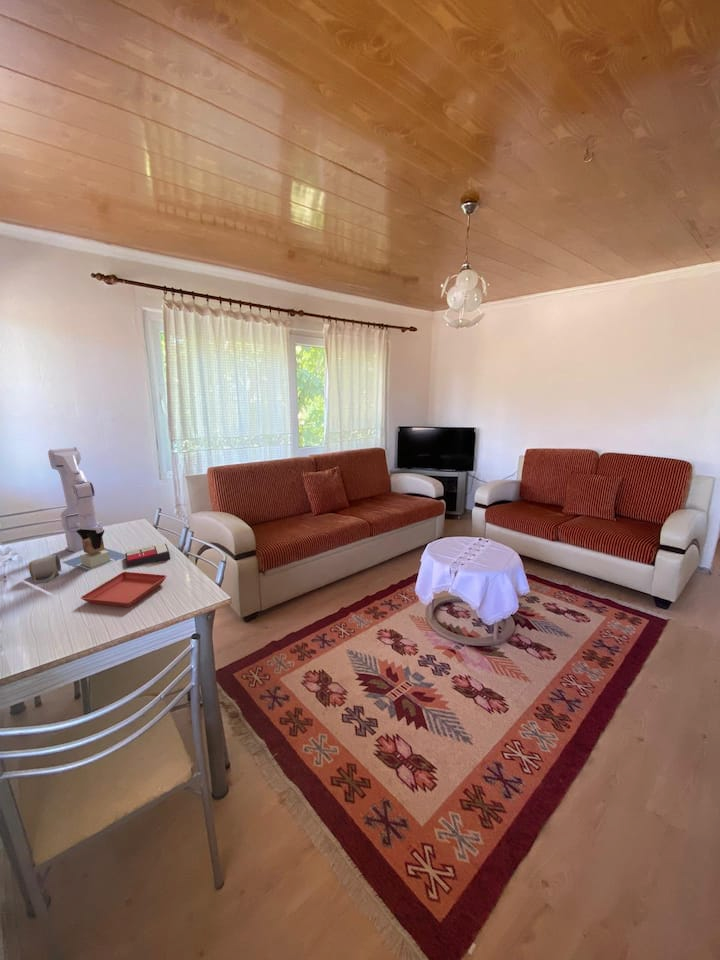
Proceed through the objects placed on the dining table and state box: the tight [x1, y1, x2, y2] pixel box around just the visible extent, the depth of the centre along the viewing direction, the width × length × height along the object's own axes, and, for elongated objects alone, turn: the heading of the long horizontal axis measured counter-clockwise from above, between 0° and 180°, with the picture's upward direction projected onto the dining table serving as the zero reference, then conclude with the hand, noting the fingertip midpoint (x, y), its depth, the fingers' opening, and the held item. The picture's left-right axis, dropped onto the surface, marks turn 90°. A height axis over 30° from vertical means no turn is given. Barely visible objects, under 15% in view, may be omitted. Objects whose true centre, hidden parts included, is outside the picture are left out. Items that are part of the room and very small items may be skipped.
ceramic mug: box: [28, 554, 62, 584], centre depth 140 cm, size 11×8×8 cm
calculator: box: [124, 542, 171, 568], centre depth 156 cm, size 11×4×15 cm
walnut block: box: [82, 537, 105, 554], centre depth 150 cm, size 5×5×5 cm
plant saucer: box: [80, 571, 167, 608], centre depth 129 cm, size 18×18×3 cm
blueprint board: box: [62, 547, 126, 572], centre depth 155 cm, size 18×16×1 cm
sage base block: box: [79, 550, 110, 568], centre depth 151 cm, size 7×7×4 cm
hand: (93, 547), depth 150 cm, fingers closed on walnut block, 5 cm apart
